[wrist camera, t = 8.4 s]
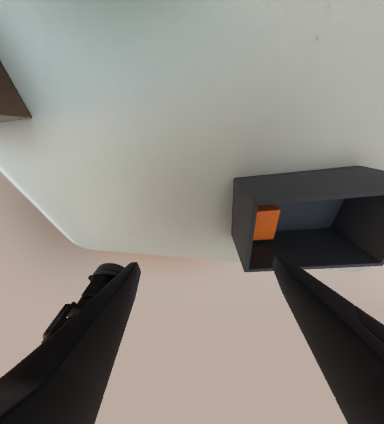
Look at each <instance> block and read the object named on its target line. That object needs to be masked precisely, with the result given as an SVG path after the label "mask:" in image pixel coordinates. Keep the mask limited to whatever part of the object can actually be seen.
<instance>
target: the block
mask: <svg viewBox="0 0 384 424" xmlns="http://www.w3.org/2000/svg"><path fill="white" fill-rule="evenodd" d="M279 214H280V209H279V208H278V207H277V206H276V205H275V204H272V205H260V206H258V209H257V216H256V223H255V230H254V237H253V240H267V239H274V235H275V231H276V227H277V223H278V219H279Z"/></svg>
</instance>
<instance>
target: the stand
mask: <svg viewBox="0 0 384 424" xmlns="http://www.w3.org/2000/svg"><path fill="white" fill-rule="evenodd" d="M26 118H32V117H31V115H30V113H29V111H28V110H27V108H26V106H25V104H24V103H23V101H22V99H21V97H20V96H19V94H18V92H17V90H16V89H15V87H14V85H13V83H12V81H11V80H10V78H9V76H8V74H7V73H6V71H5V69H4V67H3V66H2V64H1V62H0V122H5V121H12V120H19V119H26Z"/></svg>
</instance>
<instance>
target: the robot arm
mask: <svg viewBox="0 0 384 424" xmlns="http://www.w3.org/2000/svg"><path fill="white" fill-rule="evenodd" d="M272 266H273V270H274V272H275V275H276V278H277V280H278V283H279V285H280V288H281V290H282V293H283V295H284V297H285V299H286V301H287V303H288V305H289V307H290V309H291V311H292V313H293V315H294V317H295V319H296V321H297V323H298V325H299V327H300V329H301V331H302V333H303V335H304V337H305V339H306V341H307V343H308V345H309V347H310V349H311V351H312V353H313V355H314V357H315V359H316V361H317V363H318V365H319V367H320V369H321V371H322V373H323V375H324V376H325V379H326V381H327V382H328V384H329V387H330V389H331V391H332V393H333V395H334V396H335V397H336V401H337V403H338V405H339V407H340V409H341V410H342V413H343V415H344V417H345V419H346V421H347V422H348V424H384V325H383V324H382V323H380V322H379V321H377V320H376V319H374V318H373V317H371V316H370V315H368V314H367V313H365V312H364V311H362V310H361V309H360V308H358V307H357V306H354V305H353V304H352V303H351V302H349V301H348V300H346V299H345V298H343V297H342V296H340V295H339V294H338V293H336V292H335V291H333V290H332V289H330V288H329V287H328V286H326V285H325V284H323V283H322V282H320V281H319V280H317V279H316V278H315V277H313V276H312V275H310V274H309V273H307V272H306V271H304V270H303V269H301V268H300V267H299V266H297V265H296V264H294V263H293V262H291V261H290V260H288V259H287V258H286V257H284V256H282V255H277V256H275V257H274V260H273V264H272ZM140 273H141V271H140V268H139V265H138V263H137V262H132V263H130V264H129V265H127V266H126V267H125V268H124V269H123V270H122V271H121V272H120V273H119V274H118V275H117V274H109V275H91V276H89V278H88V279H89V280H90V281H91V282H90V284H89V285H88V287H87V288H86V290H85V291H84V293H83V294H82V297H81V299H80V300H79V302H78V303H77V304H76V303H75V302H72V303H71V304H65V305H64V307H63V308H62V310H61V311H60V312H59V314H58V315H57V316H56V318H55V319H54V320H53V322H52V323H51V324H50V326H49V327H48V328H47V330H46V331H45V332H44V334H43V341H42V344H41V345H40V346H39V347H38V348H36V349H35V350H34V351H33V352H32V353H31V354H29V355H28V356H27V357H26V358H25V359H23V360H22V361H21V362H20V363H18V364H17V365H16V366H15V367H14V368H13V369H11V370H10V371H9V372H8V373H6V374H5V375H4V376H2V377H1V378H0V424H94V423H95V420H96V417H97V414H98V411H99V408H100V405H101V402H102V399H103V395H104V392H105V389H106V386H107V383H108V380H109V377H110V374H111V371H112V367H113V364H114V361H115V358H116V355H117V352H118V349H119V346H120V343H121V340H122V337H123V334H124V331H125V327H126V324H127V321H128V318H129V315H130V312H131V309H132V306H133V303H134V300H135V296H136V292H137V287H138V282H139V278H140ZM66 317H68V318H66Z"/></svg>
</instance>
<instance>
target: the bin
mask: <svg viewBox="0 0 384 424" xmlns="http://www.w3.org/2000/svg"><path fill="white" fill-rule="evenodd" d="M272 204H275V205H276V206H277V207H278V208H279V209H280V214H279V219H278V223H277V227H276V231H275V235H274V239H267V240H253V237H254V230H255V223H256V216H257V209H258V206H260V205H272ZM231 235H232V237H233V240H234V243H235V246H236V249H237V252H238V255H239V258H240V260H241V263H242V266H243V269H244V272H259V271H274V270H273V266H272V264H273V260H274V257H275V256H277V255H282V256H284V257H286V258H287V259H288V260H290V261H291V262H293V263H294V264H296V265H297V266H299V267H300V268H301V269H322V268H343V267H364V266H382V265H383V264H384V171H383V170H378V169H373V168H368V167H363V166H352V167H341V168H331V169H321V170H311V171H300V172H290V173H280V174H270V175H259V176H249V177H239V178H234V188H233V211H232V234H231Z"/></svg>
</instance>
